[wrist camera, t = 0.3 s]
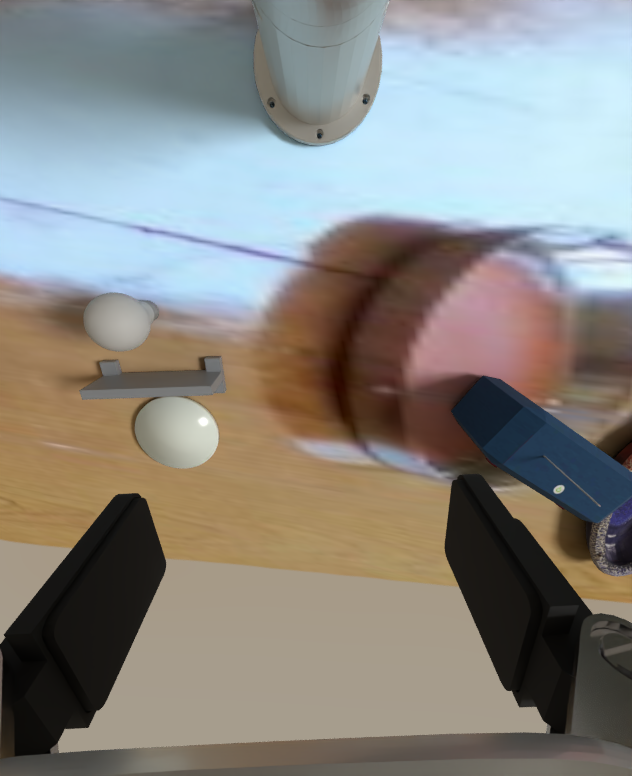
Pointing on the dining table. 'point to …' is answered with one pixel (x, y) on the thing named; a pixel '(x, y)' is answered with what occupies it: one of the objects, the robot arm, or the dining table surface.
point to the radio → (542, 451)
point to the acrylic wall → (156, 382)
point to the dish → (613, 533)
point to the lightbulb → (119, 321)
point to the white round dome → (177, 431)
